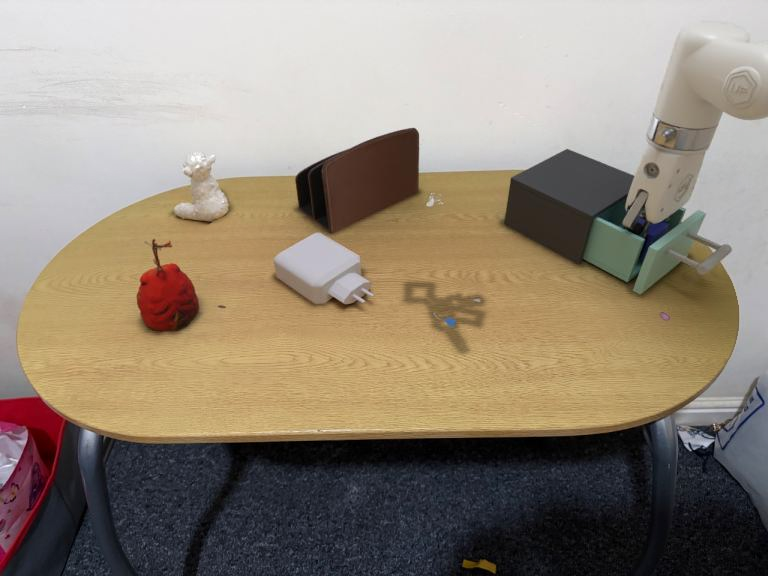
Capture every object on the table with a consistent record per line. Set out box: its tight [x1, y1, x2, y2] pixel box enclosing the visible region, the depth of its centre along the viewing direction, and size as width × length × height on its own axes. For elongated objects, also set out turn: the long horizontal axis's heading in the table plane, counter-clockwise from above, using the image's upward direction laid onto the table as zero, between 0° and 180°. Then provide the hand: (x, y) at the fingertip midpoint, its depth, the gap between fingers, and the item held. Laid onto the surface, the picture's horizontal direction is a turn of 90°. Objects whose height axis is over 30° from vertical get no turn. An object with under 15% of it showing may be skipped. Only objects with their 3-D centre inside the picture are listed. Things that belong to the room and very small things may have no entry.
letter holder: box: [294, 127, 420, 234], centre depth 92 cm, size 10×20×14 cm, turn 130°
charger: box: [273, 232, 375, 305], centre depth 77 cm, size 5×9×15 cm
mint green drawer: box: [582, 198, 733, 296], centre depth 78 cm, size 19×13×8 cm
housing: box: [503, 148, 635, 266], centre depth 86 cm, size 15×15×10 cm
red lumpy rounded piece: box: [136, 238, 200, 332], centre depth 70 cm, size 8×7×15 cm
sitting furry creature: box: [173, 151, 230, 223], centre depth 91 cm, size 10×9×12 cm
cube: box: [623, 218, 669, 260], centre depth 78 cm, size 4×4×4 cm
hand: (639, 246), depth 79 cm, fingers closed on cube, 4 cm apart
